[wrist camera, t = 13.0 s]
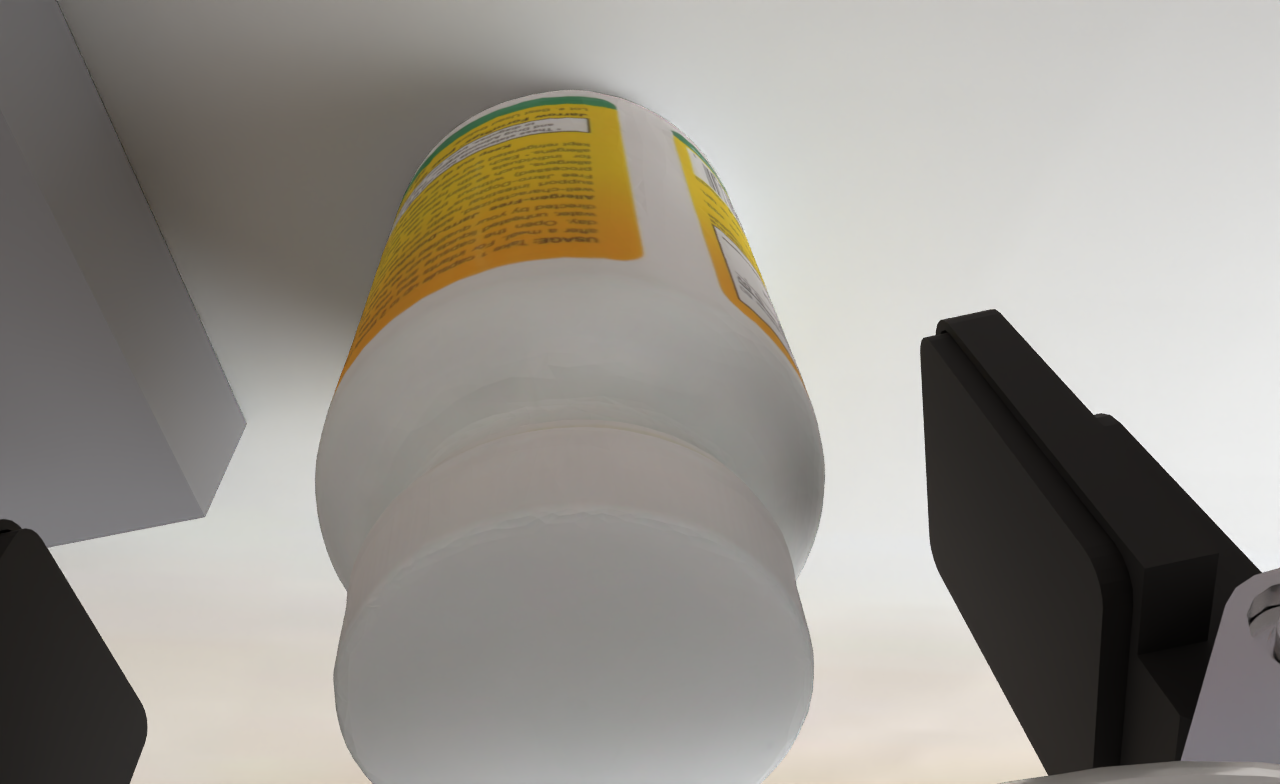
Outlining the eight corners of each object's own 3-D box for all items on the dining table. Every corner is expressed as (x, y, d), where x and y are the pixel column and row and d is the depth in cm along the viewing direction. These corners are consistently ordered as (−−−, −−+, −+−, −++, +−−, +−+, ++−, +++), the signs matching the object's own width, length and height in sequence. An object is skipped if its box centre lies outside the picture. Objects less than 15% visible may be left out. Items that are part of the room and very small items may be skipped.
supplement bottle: (793, 171, 17) (1038, 576, 8) (640, 434, 19) (715, 955, 11) (470, 15, 15) (382, 326, 7) (347, 322, 17) (169, 833, 9)
